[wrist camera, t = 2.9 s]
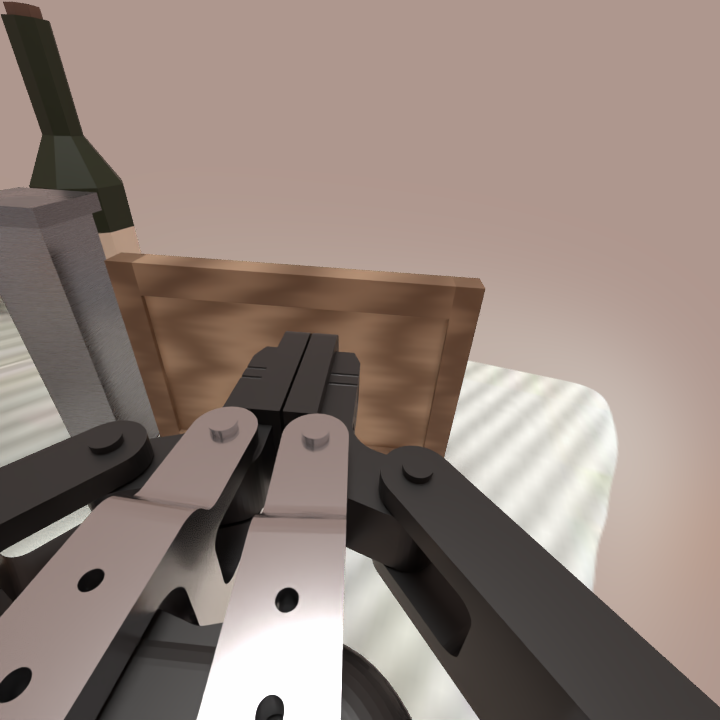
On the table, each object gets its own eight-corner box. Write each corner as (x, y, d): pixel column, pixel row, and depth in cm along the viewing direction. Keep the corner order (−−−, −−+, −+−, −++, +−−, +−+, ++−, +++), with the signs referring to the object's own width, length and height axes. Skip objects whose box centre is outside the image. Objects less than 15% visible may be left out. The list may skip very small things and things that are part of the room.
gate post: (75, 466, 29) (-63, 201, 19) (114, 424, 33) (18, 187, 23) (136, 472, 29) (31, 208, 18) (167, 428, 33) (96, 192, 22)
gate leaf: (164, 449, 29) (103, 260, 21) (174, 434, 31) (121, 252, 23) (440, 473, 29) (485, 288, 21) (437, 458, 30) (479, 278, 22)
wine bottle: (170, 313, 51) (99, 21, 35) (150, 344, 44) (49, -3, 28) (104, 314, 50) (-1, 12, 34) (72, 345, 43) (-79, -15, 27)
